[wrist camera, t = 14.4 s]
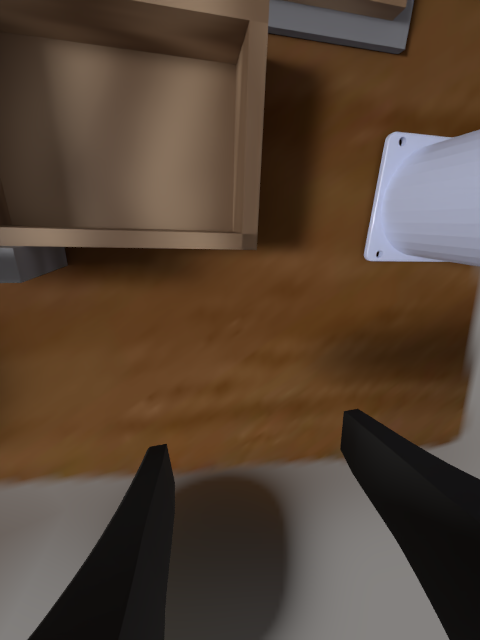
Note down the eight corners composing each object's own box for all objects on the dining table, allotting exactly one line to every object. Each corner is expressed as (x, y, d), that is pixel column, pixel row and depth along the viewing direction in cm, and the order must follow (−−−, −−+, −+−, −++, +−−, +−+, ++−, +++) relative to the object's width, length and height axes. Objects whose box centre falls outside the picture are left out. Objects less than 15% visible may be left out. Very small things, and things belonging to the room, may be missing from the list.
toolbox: (250, 17, 14) (306, -169, 7) (242, 266, 19) (272, 292, 12) (-212, -63, 11) (-883, -536, 4) (-87, 264, 15) (-307, 299, 8)
